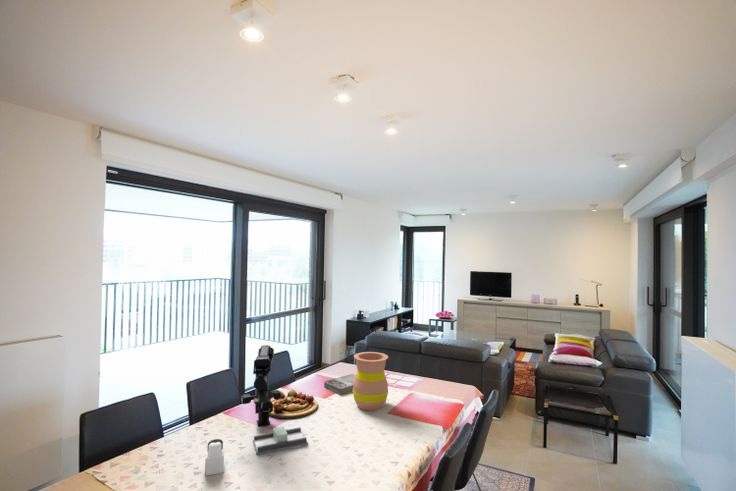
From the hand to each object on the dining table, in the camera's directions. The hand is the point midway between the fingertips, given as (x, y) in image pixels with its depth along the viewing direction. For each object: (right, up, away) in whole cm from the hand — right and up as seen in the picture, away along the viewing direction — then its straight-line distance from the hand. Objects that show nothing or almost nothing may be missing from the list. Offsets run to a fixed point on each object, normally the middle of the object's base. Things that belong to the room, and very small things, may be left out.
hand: (261, 413), depth 184 cm
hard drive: (+39, -15, +73) cm, 85 cm away
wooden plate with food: (+7, -14, +37) cm, 40 cm away
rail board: (+11, -12, -5) cm, 17 cm away
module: (+11, -11, -5) cm, 16 cm away
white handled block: (-12, -11, -28) cm, 32 cm away
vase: (+55, -14, +42) cm, 71 cm away
